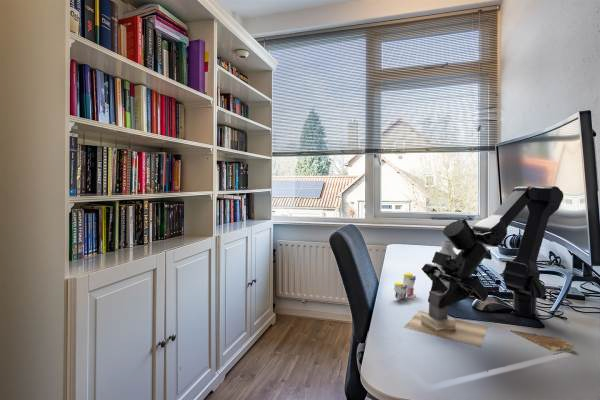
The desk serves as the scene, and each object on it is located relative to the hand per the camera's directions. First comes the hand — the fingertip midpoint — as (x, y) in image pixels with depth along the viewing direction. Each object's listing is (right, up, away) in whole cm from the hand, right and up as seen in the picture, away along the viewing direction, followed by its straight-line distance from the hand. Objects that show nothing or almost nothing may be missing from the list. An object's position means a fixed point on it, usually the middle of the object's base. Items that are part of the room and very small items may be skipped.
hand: (434, 304), depth 85 cm
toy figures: (+1, -6, +24) cm, 25 cm away
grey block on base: (+1, -6, +1) cm, 6 cm away
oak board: (+3, -7, 0) cm, 7 cm away
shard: (+22, -8, -8) cm, 25 cm away
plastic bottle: (+13, -6, +21) cm, 25 cm away
